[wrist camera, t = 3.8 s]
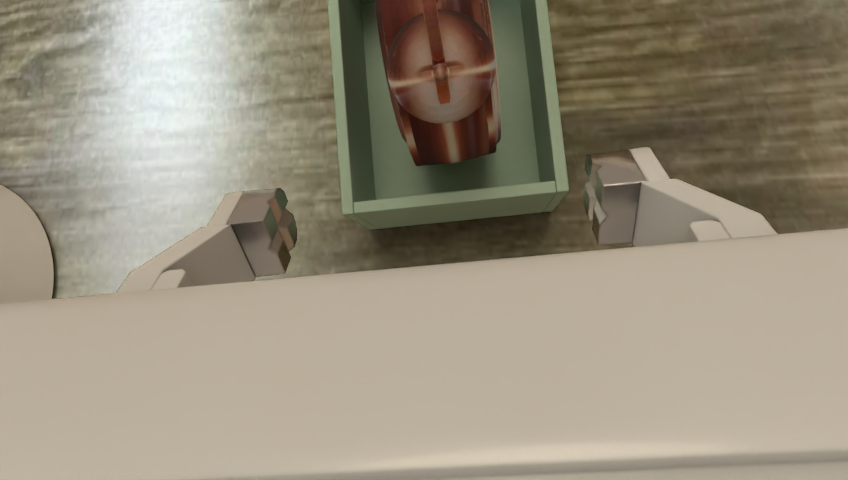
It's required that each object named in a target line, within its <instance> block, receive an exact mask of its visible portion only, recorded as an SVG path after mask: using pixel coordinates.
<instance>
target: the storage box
mask: <svg viewBox="0 0 848 480" xmlns="http://www.w3.org/2000/svg"><path fill="white" fill-rule="evenodd" d="M488 2H489V9H490V15H491V22H492V30H493V37H494V45H495V54H496V63H497V72H498V82H499V93H500V106H501V139H500V141H499V142H498V143H497V145H496V152H495V153H492V154H488V155H484V156H481V157H477V158H473V159H470V160H466V161H462V162H457V163H452V164H437V165H423V166H416V165H415V163H414V161H413V159H412V156H411V154H410V151H409V148H408V144H407V143H406V142H405V141H404V139H403V138H402V135H401V133H400V130H399V127H398V124H397V121H396V117H395V114H394V110H393V106H392V102H391V98H390V93H389V89H388V84H387V79H386V75H385V69H384V64H383V58H382V52H381V46H380V40H379V33H378V26H377V17H376V7H375V0H328V12H329V27H330V42H331V56H332V71H333V85H334V100H335V115H336V129H337V144H338V159H339V173H340V188H341V202H342V214H343V215H344V216H346V217H348V218H350V219H352V220H353V221H355V222H357V223H359V224H361V225H363V226H365V227H366V228H368V229H370V230H372V229H382V228H392V227H402V226H412V225H422V224H432V223H442V222H451V221H461V220H471V219H481V218H491V217H501V216H511V215H521V214H531V213H541V212H551V211H553V210H554V208H555V207H556V206H557V205H558V204H559V202H560V201H561V200H562V199H563V197H564V196H565V195H566V194H567V193H568V191H569V185H568V177H567V168H566V160H565V151H564V143H563V134H562V126H561V117H560V109H559V100H558V92H557V83H556V75H555V66H554V58H553V49H552V41H551V32H550V24H549V15H548V7H547V0H488Z"/></svg>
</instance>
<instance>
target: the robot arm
mask: <svg viewBox="0 0 848 480" xmlns="http://www.w3.org/2000/svg"><path fill="white" fill-rule="evenodd" d="M585 171H586V173H587V176H588V178H589V179H588V180H587V182H586V183H585V184H584V204H585V209H586V213H587V216H588V219H590V220H591V221H593V224H592V230H593V233H594V235H595V238H596V241H597V243H598V245H613V244H629V243H633V245H634V246H635V247H629V248H617V249H606V250H595V251H584V252H573V253H561V254H550V255H539V256H528V257H517V258H505V259H494V260H483V261H472V262H461V263H450V264H438V265H427V266H416V267H405V268H393V269H382V270H371V271H360V272H348V273H337V274H326V275H315V276H303V277H292V278H281V279H270V280H259V281H254V280H255V279H256V278H255V277H261V276H270V275H278V274H285V273H286V270H287V267H288V264H289V262H290V259H291V256H290V254H289V251H290V250H291V249H292V248H294V247H295V244H296V241H297V227H296V222H295V219H294V216H293V214H292V213H290V212H289V211H288V210H287V209H285V207H286V205H287V202H288V200H287V198H286V195H285V193H284V191H283V190H282V189H281V188H275V189H264V190H252V191H240V192H232V193H228V194H225V196H224V198H223V199H222V201H221V203H220V204H219V206H218V208H217V210H216V211H215V213H214V215H213V216H212V218H211V220H210V222H209V223H208V225H207V227H201V228H199V229H198V230H196V231H195V232H193V233H191V234H190V235H188V236H187V237H185V238H184V239H182V240H180V241H179V242H177V243H176V244H174V245H173V246H171V247H169V248H168V249H166V250H165V251H163V252H162V253H160V254H159V255H157V256H155V257H154V258H152V259H151V260H149V261H148V262H146V263H144V264H143V265H141V266H140V267H138V268H137V269H135V270H133V271H132V272H130V273H129V275H128V276H127V278H126V279H125V280H124V282H123V283H122V285H121V286H120V288H119V289H118V291H117V292H116V293H113V294H102V295H90V296H79V297H68V298H57V299H52V293H53V283H54V268H53V258H52V252H51V248H50V244H49V241H48V238H47V235H46V233H45V230H44V228H43V226H42V224H41V222H40V221H39V219H38V217H37V216H36V214H35V213H34V211H33V210H32V209H31V208H30V207H29V205H28V204H27V203H26V202H25V201H24V200H23V199H21V198H20V197H19V196H18V195H16V194H15V193H14V192H12V191H11V190H9V189H7V188H6V187H4V186H2V185H1V184H0V480H848V228H842V229H831V230H819V231H808V232H797V233H786V234H777V233H776V232H775V231H774V229H773V228H772V227H771V226H770V224H769V223H768V222H767V221H766V219H765V218H764V217H763V216H762V214H760V213H757V212H755V211H752V210H750V209H748V208H745V207H743V206H740V205H738V204H736V203H733V202H731V201H729V200H726V199H724V198H721V197H719V196H717V195H714V194H712V193H709V192H707V191H705V190H702V189H700V188H697V187H695V186H693V185H690V184H688V183H685V182H683V181H681V180H678V179H670V178H669V176H668V175H667V173H666V172H665V170H664V169H663V167H662V166H661V164H660V163H659V161H658V159H657V158H656V156H655V155H654V153H653V152H652V150H651V149H650V148H649V147H642V148H636V149H628V150H621V151H613V152H606V153H598V154H591V155H587V158H586V164H585Z"/></svg>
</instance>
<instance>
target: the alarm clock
mask: <svg viewBox="0 0 848 480" xmlns="http://www.w3.org/2000/svg"><path fill="white" fill-rule="evenodd" d="M375 7H376V17H377V26H378V33H379V40H380V46H381V52H382V58H383V64H384V69H385V75H386V79H387V84H388V89H389V93H390V98H391V102H392V106H393V110H394V114H395V117H396V121H397V124H398V127H399V130H400V133H401V135H402V138H403V139H404V141H405V142H406V143H407V144H408V148H409V151H410V154H411V156H412V159H413V161H414V163H415V165H416V166H423V165H437V164H452V163H457V162H462V161H466V160H470V159H473V158H477V157H481V156H484V155H488V154H492V153H495V152H496V145H497V143H498V142H499V141H500V139H501V106H500V93H499V82H498V72H497V63H496V54H495V45H494V37H493V30H492V22H491V15H490V9H489V2H488V0H375Z"/></svg>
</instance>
